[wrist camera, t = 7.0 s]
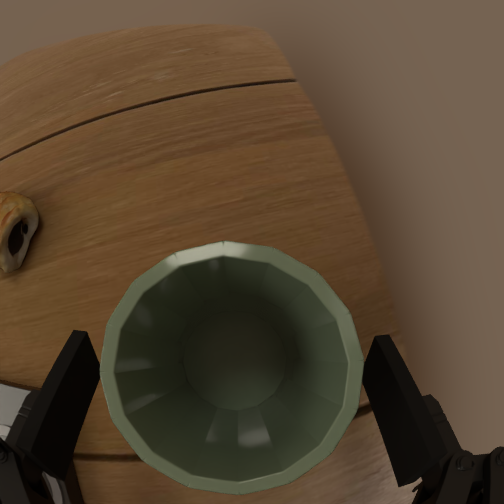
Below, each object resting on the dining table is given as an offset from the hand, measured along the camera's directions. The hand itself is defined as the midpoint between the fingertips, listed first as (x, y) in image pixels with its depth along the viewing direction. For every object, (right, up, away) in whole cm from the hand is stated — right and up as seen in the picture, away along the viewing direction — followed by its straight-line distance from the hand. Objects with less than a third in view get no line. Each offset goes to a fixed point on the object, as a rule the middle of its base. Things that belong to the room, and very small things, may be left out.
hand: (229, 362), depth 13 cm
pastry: (-21, +6, +8) cm, 24 cm away
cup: (0, -2, +6) cm, 7 cm away
